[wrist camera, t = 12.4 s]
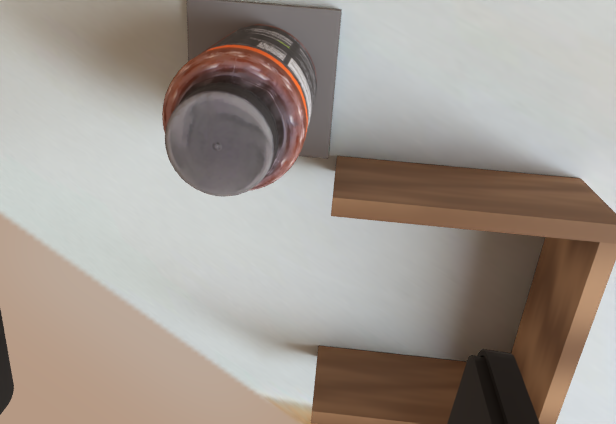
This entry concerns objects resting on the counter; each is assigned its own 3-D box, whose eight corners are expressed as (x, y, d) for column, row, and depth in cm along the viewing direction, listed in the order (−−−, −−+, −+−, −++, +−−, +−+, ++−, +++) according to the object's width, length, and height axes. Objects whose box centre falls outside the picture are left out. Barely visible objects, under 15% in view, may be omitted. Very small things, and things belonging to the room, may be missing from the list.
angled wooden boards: (336, 155, 32) (332, 197, 26) (580, 178, 31) (628, 225, 26) (317, 356, 38) (310, 423, 33) (518, 378, 37) (545, 450, 32)
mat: (190, -3, 28) (186, -2, 28) (341, 9, 28) (341, 11, 28) (193, 142, 32) (190, 145, 31) (328, 155, 32) (328, 158, 31)
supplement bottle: (216, 133, 31) (147, 221, 21) (203, 24, 28) (118, 63, 18) (320, 132, 30) (302, 221, 20) (317, 20, 28) (294, 58, 18)
